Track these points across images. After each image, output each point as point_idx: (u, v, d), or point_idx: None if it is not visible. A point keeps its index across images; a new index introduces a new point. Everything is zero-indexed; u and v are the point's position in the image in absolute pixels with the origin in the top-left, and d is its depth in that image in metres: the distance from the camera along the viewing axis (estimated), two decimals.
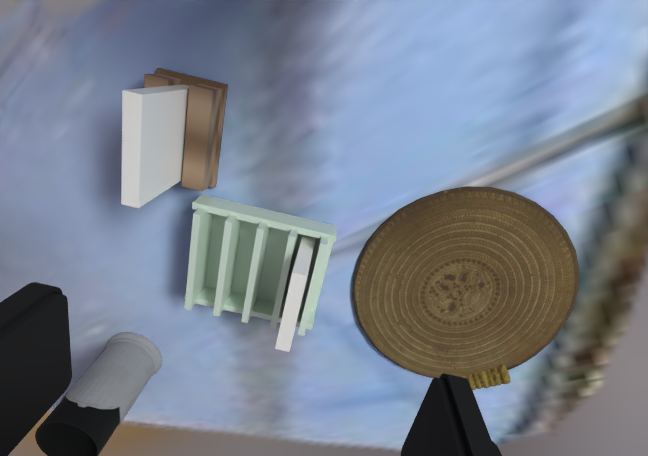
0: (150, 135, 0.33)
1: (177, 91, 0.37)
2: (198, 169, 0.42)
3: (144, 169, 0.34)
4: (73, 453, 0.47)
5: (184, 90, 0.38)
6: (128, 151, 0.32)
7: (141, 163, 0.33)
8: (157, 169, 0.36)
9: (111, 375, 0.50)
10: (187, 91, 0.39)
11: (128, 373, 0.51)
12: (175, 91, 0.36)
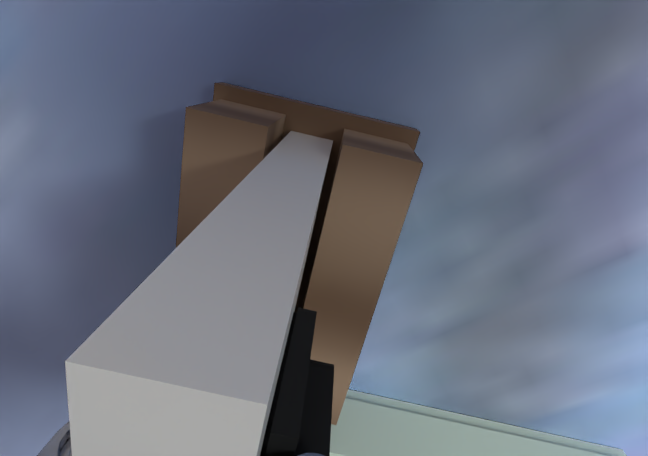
0: None
1: None
2: None
3: None
4: None
5: None
6: None
7: None
8: None
9: None
10: (327, 163, 0.12)
11: None
12: None
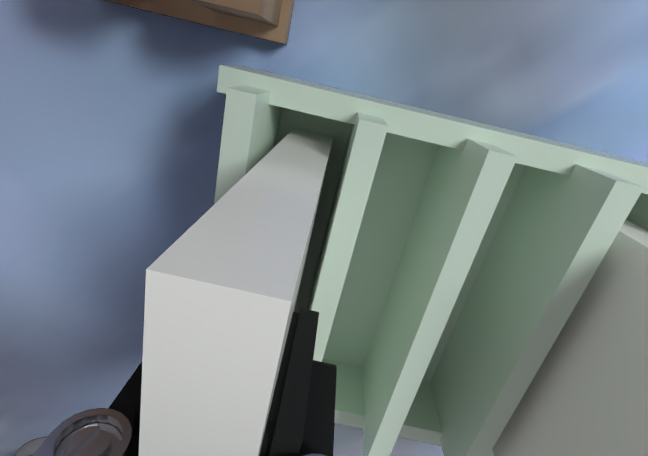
0: (268, 411, 0.07)
1: (325, 168, 0.10)
2: None
3: None
4: None
5: None
6: None
7: None
8: None
9: None
10: None
11: None
12: None
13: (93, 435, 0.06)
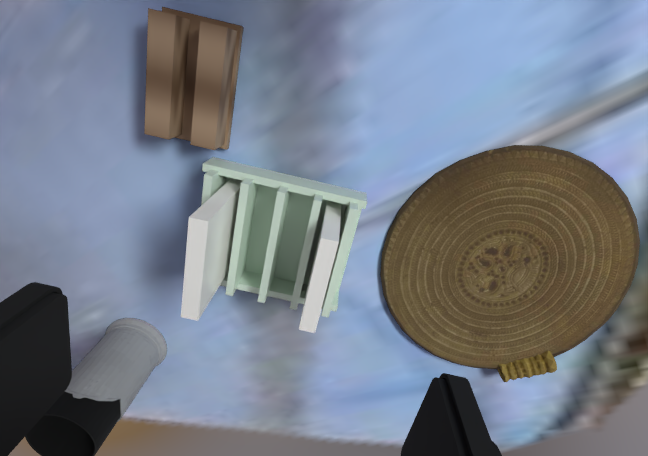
0: (211, 251, 0.33)
1: (232, 196, 0.37)
2: (209, 124, 0.36)
3: (204, 283, 0.34)
4: (67, 451, 0.42)
5: (237, 191, 0.38)
6: (190, 271, 0.32)
7: (202, 280, 0.33)
8: (213, 276, 0.36)
9: (110, 364, 0.44)
10: (239, 190, 0.39)
11: (129, 362, 0.46)
12: (230, 197, 0.36)
13: None
